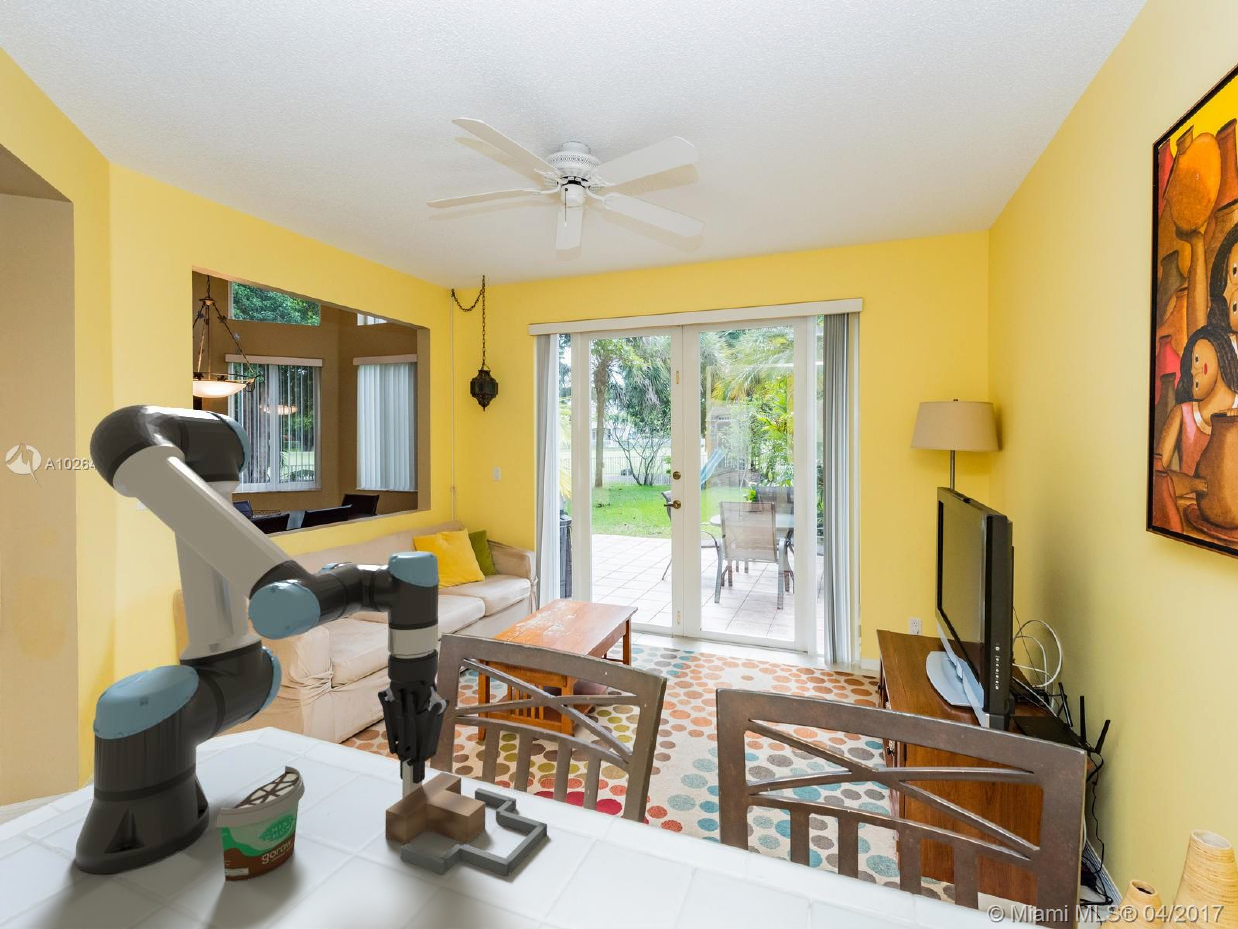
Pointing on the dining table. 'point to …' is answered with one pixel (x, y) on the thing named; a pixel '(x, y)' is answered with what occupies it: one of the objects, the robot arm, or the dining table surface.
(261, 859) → the food container
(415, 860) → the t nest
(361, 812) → the dining table surface
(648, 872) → the dining table surface
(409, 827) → the t block
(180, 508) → the robot arm
